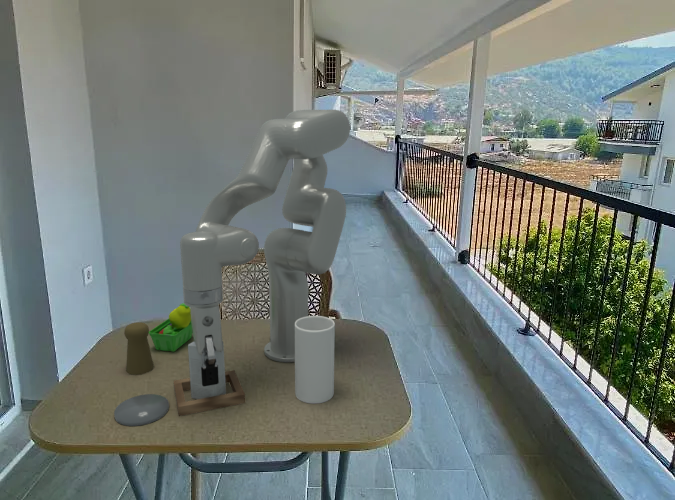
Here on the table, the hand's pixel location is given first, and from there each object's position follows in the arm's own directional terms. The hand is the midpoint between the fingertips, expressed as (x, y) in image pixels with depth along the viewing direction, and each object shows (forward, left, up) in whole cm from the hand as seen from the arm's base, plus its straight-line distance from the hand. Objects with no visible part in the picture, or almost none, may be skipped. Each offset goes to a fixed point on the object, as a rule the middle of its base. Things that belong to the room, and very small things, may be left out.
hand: (207, 375), depth 100 cm
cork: (+13, -18, -5) cm, 23 cm away
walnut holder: (0, 0, -5) cm, 5 cm away
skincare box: (0, 0, -5) cm, 5 cm away
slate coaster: (+13, +1, -5) cm, 14 cm away
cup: (-21, +7, -5) cm, 23 cm away
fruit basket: (+4, -29, -5) cm, 30 cm away
